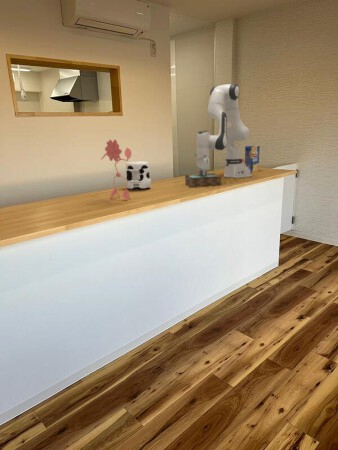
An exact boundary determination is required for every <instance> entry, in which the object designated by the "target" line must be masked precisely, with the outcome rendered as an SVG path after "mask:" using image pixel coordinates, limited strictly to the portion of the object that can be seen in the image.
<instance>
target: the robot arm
mask: <svg viewBox="0 0 338 450" xmlns="http://www.w3.org/2000/svg"><path fill="white" fill-rule="evenodd" d="M240 91H241V90H240V87H239V85H238V84H237V83H229V84H220V85H215V86H213V87H212V88H211V89H210V91H209V100H208V104H207V114H208V116H209V117H211V118H212V119H214V120H216V121H218V123H219V131H218V134H215V135H212V134H210V133H209V131H208V130H200V131H198V132H197V134H196V152H195V155H194V157H195V163H196V167H197V168H199V171H203V173H202V175H205V172H206V171H209V170H210V169H211V166H210V165H211V164H210V159H209V158H210V150H216V151H223V150H224V149H225V162H224V164H225V165H224V166H225V169H224V173H223V177H225V178H235V179H239V178H248V177H252V176H253V174H252V173H249V169H248V168H247V167H246V166H245V158H243V159H242V158H241V148H240V146H238V145H237V144H236V142H242V141H247V140H248V139H249V137H250V130H249V127H247V126H246V125H245V124H244V123H243V121H242V119H241V113H240V105H239V96H240ZM227 122H228V123H229V124H230V126H228V123H227Z"/></svg>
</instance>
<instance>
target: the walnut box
mask: <svg viewBox="0 0 338 450" xmlns="http://www.w3.org/2000/svg"><path fill="white" fill-rule="evenodd" d="M212 174H213V175H215V176H214V177H198V178H189V177H188V176H191V175H192V174H185V175H184V178H185V180H184V181H185V182H184V183H185V185H186V186H188V187H189V188H203V187H204V188H205V187H206V188H207V187H219V186H220V187H221V186H222V176H221V175H216V174H215V172H214V173H212ZM195 175H199V173H197V174H195Z"/></svg>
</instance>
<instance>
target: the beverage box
mask: <svg viewBox="0 0 338 450" xmlns="http://www.w3.org/2000/svg"><path fill="white" fill-rule="evenodd" d="M244 150H245V151H244V165H245V166H246V167H247V168H248V169H249V174H252V173H258V172H259V166H260V165H259V164H260V163H259V162H260V145H246V146H244Z"/></svg>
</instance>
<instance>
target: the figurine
mask: <svg viewBox="0 0 338 450" xmlns="http://www.w3.org/2000/svg"><path fill="white" fill-rule="evenodd" d="M104 150H105V153H104V155H102V157H101V159H100V160H103V159H104V158H105V157H106V156H107V157H108V158H109V161H111V162H112V161H113V160H114V162H115V163H114V167H115V170H116V173H115V176H114V177H113V182H114V183H113V184H114V186H116V181H115V178H123V179H124V180H125V181H126V180H127V179H126V178H125V177H123V176H122V175H121V173H120V172H119V171H118V168H117V164H118V163H119V162H120V161H121V160H122V161H126V162H129V160H130V158H131V157H132V150H131V149H130V148H128V147H126V149H125V150H124V155H125V157H126V159H125V158H121V156H120V155H121V154H122V152H123V151H122V149H120V145H119V143H118V141H117V139H114V140H111V139H108V141H107V142H106V147H105V148H104ZM127 182H128V180H127ZM125 186H126V187H125V189H124V191H123V193H122V197H123V199H124V201H127V200H128V199H129V200H131V197H130V191H129V189H128V188H127V185H126V184H125ZM116 194H117V197H118V198H121V196H120V194H119V193H118V188H117V187H114V189H112V192H111V193H110V199H112V198H113V197H115V195H116ZM105 203H106V204H108V202H107V201H105ZM114 204H118V205H119V202H116V203H115V202H114Z"/></svg>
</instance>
